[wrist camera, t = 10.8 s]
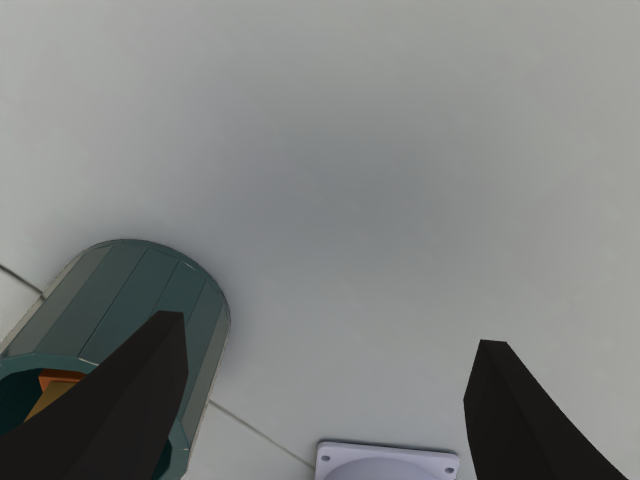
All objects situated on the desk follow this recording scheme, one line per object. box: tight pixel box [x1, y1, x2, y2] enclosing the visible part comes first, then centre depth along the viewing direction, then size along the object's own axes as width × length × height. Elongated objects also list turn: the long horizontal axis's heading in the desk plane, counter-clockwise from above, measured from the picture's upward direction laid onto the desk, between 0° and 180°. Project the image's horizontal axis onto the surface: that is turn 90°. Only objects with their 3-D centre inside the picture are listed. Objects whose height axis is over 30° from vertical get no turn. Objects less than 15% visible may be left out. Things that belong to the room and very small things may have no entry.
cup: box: [0, 239, 230, 480], centre depth 23 cm, size 8×8×8 cm
